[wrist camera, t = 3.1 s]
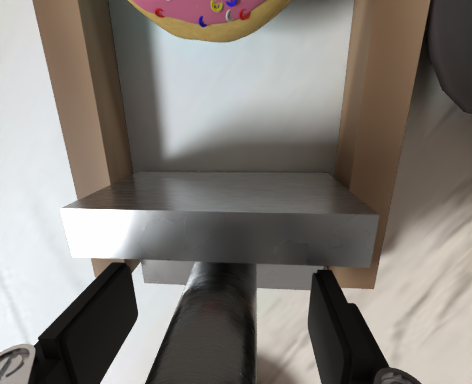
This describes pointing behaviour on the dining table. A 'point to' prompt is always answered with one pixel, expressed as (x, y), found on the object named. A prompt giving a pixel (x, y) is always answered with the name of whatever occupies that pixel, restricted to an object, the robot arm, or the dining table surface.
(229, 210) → the ram
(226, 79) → the dining table surface
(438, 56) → the casserole
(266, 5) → the cupcake
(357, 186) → the press bed
